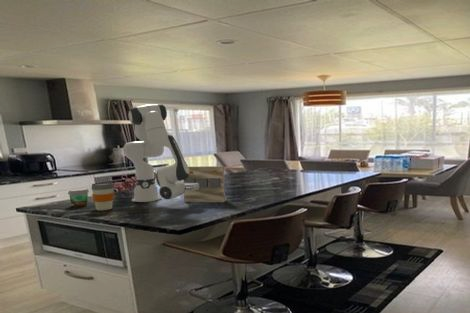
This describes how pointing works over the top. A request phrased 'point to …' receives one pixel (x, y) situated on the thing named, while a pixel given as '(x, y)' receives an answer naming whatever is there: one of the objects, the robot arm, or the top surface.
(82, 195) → the food container
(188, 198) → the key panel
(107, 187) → the reusable coffee cup
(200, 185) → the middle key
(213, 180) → the key
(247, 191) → the top surface
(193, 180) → the key
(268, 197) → the top surface
